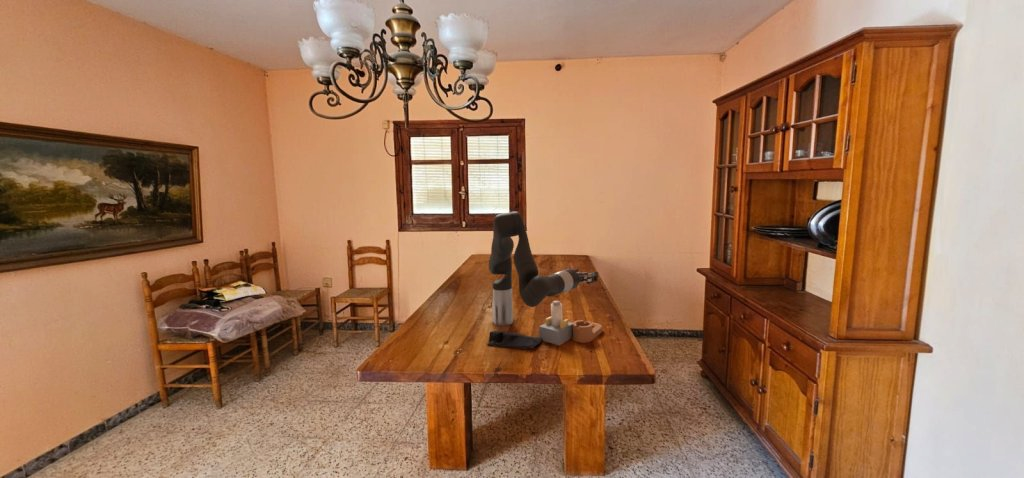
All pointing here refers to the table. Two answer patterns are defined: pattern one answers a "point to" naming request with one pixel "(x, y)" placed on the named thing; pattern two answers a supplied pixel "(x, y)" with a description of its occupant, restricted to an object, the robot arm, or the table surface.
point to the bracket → (585, 331)
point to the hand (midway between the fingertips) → (587, 272)
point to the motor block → (556, 332)
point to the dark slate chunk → (512, 340)
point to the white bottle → (556, 313)
